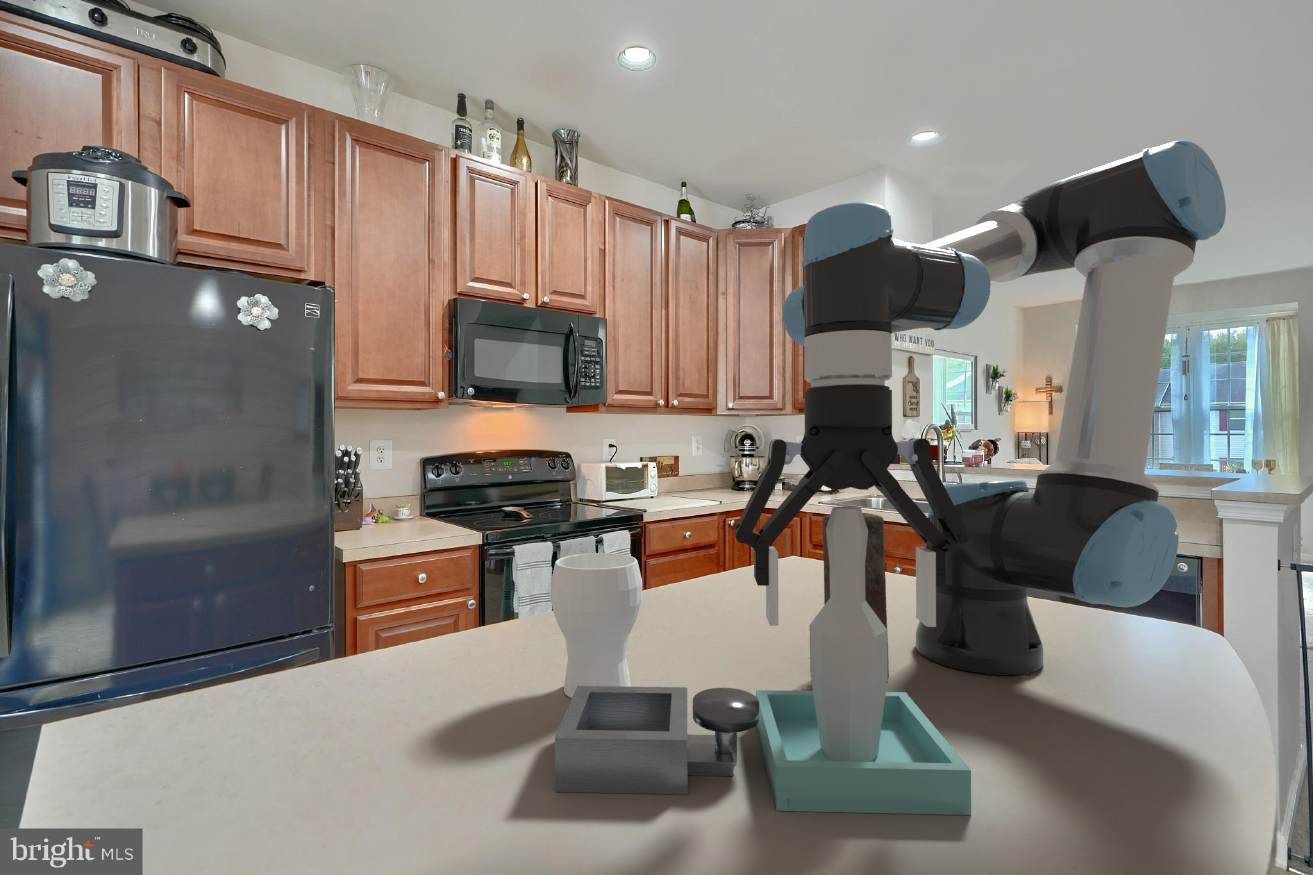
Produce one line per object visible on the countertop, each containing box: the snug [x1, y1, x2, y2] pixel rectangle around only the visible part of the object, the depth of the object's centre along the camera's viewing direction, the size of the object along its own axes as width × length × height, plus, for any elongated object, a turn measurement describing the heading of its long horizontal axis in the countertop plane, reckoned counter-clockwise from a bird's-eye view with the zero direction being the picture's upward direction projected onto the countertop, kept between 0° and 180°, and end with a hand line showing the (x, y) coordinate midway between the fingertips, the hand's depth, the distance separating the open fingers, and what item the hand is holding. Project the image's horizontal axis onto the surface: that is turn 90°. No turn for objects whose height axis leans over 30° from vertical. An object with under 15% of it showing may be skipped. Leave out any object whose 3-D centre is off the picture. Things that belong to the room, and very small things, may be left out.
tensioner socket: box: [554, 686, 759, 796], centre depth 58 cm, size 18×11×6 cm, turn 87°
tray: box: [755, 689, 972, 816], centre depth 58 cm, size 15×15×4 cm
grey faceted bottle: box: [809, 505, 889, 762], centre depth 58 cm, size 6×6×22 cm
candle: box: [822, 512, 890, 680], centre depth 78 cm, size 8×7×20 cm
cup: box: [550, 552, 643, 699], centre depth 75 cm, size 11×11×15 cm
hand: (848, 622), depth 58 cm, fingers open, 13 cm apart
